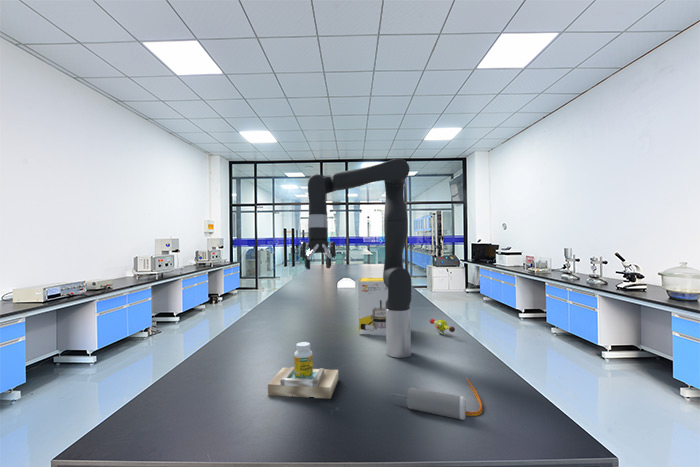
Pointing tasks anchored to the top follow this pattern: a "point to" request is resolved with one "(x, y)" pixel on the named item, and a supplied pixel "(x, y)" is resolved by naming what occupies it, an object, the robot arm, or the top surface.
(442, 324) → the toy figure
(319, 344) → the top surface
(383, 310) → the packaging box
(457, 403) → the motor
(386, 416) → the top surface
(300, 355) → the supplement bottle
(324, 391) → the dock
